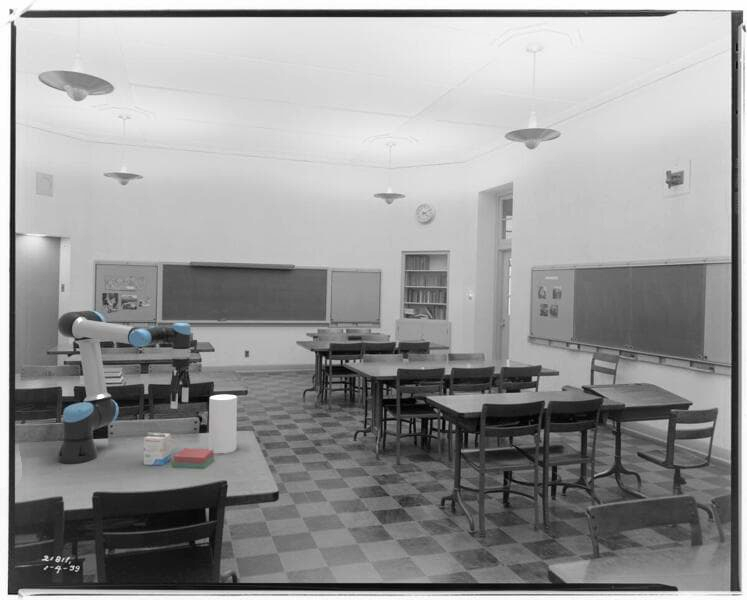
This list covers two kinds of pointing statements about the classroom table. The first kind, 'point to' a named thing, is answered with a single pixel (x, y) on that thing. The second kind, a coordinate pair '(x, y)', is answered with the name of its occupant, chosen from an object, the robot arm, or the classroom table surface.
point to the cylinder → (222, 423)
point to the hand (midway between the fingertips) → (179, 405)
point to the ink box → (157, 448)
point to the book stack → (193, 458)
